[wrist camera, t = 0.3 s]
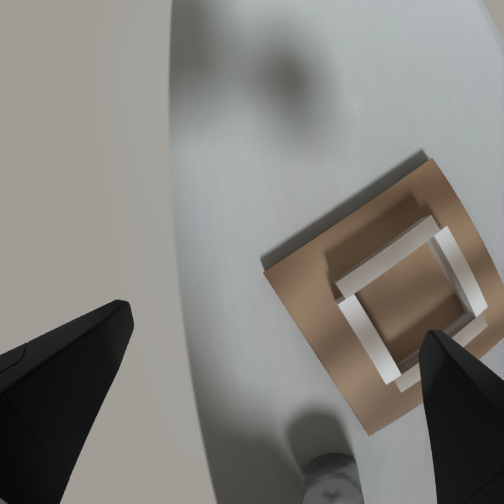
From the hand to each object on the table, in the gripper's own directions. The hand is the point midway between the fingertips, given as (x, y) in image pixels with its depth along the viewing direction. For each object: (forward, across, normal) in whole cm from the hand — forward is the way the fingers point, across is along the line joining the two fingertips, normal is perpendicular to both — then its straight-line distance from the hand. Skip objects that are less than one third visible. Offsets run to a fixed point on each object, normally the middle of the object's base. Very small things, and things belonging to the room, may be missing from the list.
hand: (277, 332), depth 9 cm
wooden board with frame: (+12, -9, +6) cm, 16 cm away
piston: (+5, -6, +20) cm, 21 cm away
